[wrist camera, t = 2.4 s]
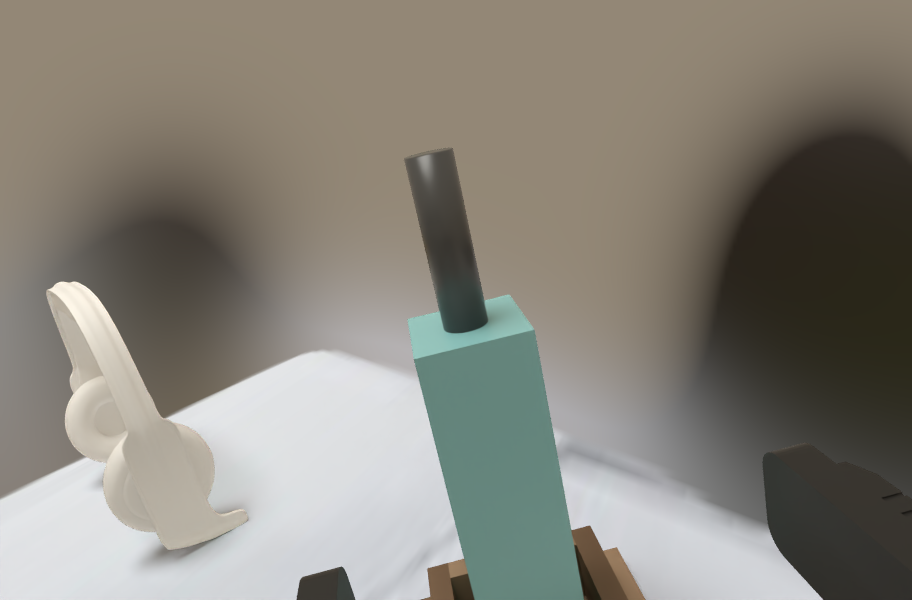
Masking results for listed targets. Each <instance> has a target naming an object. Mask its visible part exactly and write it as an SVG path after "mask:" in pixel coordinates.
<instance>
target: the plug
mask: <svg viewBox="0 0 912 600" xmlns="http://www.w3.org/2000/svg"><path fill="white" fill-rule="evenodd" d="M404 160H405V165H406V169H407V173H408V178H409V182H410V186H411V190H412V195H413V199H414V204H415V208H416V212H417V216H418V221H419V225H420V229H421V233H422V238H423V242H424V247H425V251H426V255H427V259H428V264H429V268H430V272H431V277H432V280H433V285H434V290H435V294H436V298H437V302H438V307H439V312H435V313H431V314H427V315H423V316H418V317H414V318H410V319H408V326H409V331H410V338H411V344H412V350H413V357H414V361H415V365H416V369H417V373H418V377H419V381H420V385H421V389H422V393H423V397H424V401H425V405H426V409H427V413H428V417H429V421H430V425H431V429H432V433H433V437H434V441H435V445H436V449H437V453H438V457H439V461H440V465H441V469H442V472H443V476H444V480H445V484H446V488H447V492H448V496H449V500H450V504H451V508H452V512H453V516H454V520H455V524H456V528H457V532H458V536H459V540H460V544H461V548H462V552H463V556H464V560H465V564H466V568H467V571H468V575H469V579H470V583H471V587H472V591H473V595H474V599H475V600H584V597H583V592H582V586H581V581H580V575H579V570H578V564H577V559H576V554H575V548H574V543H573V537H572V532H571V526H570V521H569V515H568V510H567V505H566V499H565V494H564V488H563V483H562V477H561V472H560V466H559V461H558V456H557V450H556V445H555V439H554V434H553V428H552V423H551V418H550V412H549V406H548V401H547V396H546V391H545V385H544V380H543V374H542V368H541V363H540V357H539V352H538V347H537V341H536V336H535V331H534V329H533V327H532V326H531V324H530V323H529V322H528V320H527V319H526V317H525V316H524V315H523V313H522V312H521V310H520V309H519V307H518V306H517V305H516V303H515V302H514V300H513V299H512V298H511V297H510V295H506V296H501V297H497V298H493V299H489V300H485V301H484V297H483V292H482V287H481V282H480V278H479V273H478V268H477V263H476V258H475V254H474V249H473V244H472V240H471V234H470V230H469V225H468V220H467V215H466V210H465V205H464V200H463V196H462V191H461V187H460V181H459V176H458V172H457V167H456V162H455V157H454V152H453V148H443V149H437V150H432V151H427V152H423V153H419V154H415V155H412V156H409V157H406V158H405V159H404Z"/></svg>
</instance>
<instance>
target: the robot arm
mask: <svg viewBox="0 0 912 600" xmlns="http://www.w3.org/2000/svg"><path fill="white" fill-rule="evenodd" d="M763 474H764V485H765V497H766V509H767V520H768V526H769V529H770V533H771V535H772V538H773V540H774V542H775V544H776V546H777V547H778V549H779V551H780V552H781V553H782V555H783V556H784V557H785V558H786V559H787V561H788V562H789V563H790V564H791V565H792V566H793V567H794V568H795V569H796V570H797V571H798V573H799V574H800V575H801V576H802V577H803V578H804V579H805V580H806V581H807V582H808V583H809V585H810V586H811V587H812V588H813V589H814V590H815V591H816V592H817V593H818V594H819V595H820V596H821V598H822V599H823V600H912V499H911V498H910V497H908V496H904V495H903V494H902V492H901V491H900V490H899V489H897V488H896V487H894V486H893V485H892V484H890V483H889V482H887V481H886V480H884V479H883V478H882V477H881V476H879V475H877V474H876V473H873V472H871V471H868V470H865V469H863V468H860V467H858V466H855V465H853V464H850V463H847V462H842V463H838V464H836V463H835V462H833V461H832V460H831V459H829V458H828V457H827V456H825V455H824V454H823V453H821V452H820V451H819V450H817V449H816V448H815V447H814V446H812V445H811V444H808V443H802V444H798V445H794V446H790V447H787V448H783V449H779V450H776V451H772V452H768V453H766V454H765V455H764V457H763ZM297 600H355V597H354V594H353V591H352V588H351V585H350V582H349V579H348V576H347V574H346V571H345V570H344V568H343V567H338V568H335V569H331V570H327V571H323V572H320V573H316V574H312V575H309V576H305V577H302V578H301V580H300V583H299V588H298V595H297Z"/></svg>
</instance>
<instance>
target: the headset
mask: <svg viewBox="0 0 912 600" xmlns="http://www.w3.org/2000/svg"><path fill="white" fill-rule="evenodd" d="M46 294H47V298H48V302H49V305H50V308H51V311H52V313H53V316H54V319H55V321H56V324H57V327H58V329H59V331H60V334H61V337H62V339H63V342H64V344H65V347H66V349H67V352H68V355H69V357H70V360H71V363H72V366H73V372H72V374H71V376H70V385H71V389H72V391H73V396H72V397H71V399H70V401H69V403H68V405H67V409H66V413H65V427H66V431H67V435H68V437H69V439H70V441H71V442H72V444H73V446H75V448H76V449H77V450H78V451H79V452H80V453H82V454H83V455H84V456H86V457H88V458H90V459H92V460H94V461H98V462H103V463H107V464H106V467H105V471H104V476H103V490H104V495H105V499H106V502H107V504H108V506H109V508H110V510H111V511H112V513H113V514H114V515H115V516H116V517H117V518H118V519H119V520H120V521H121V522H122V523H124V524H125V525H127V526H129V527H131V528H133V529H136V530H139V531H144V532H156V533H157V535H158V537H159V539H160V541H161V543H162V544H163V545H164V546H165V547H166V548H167V549H168V550H174V549H179V548H185V547H189V546H192V545H195V544H198V543H201V542H204V541H208V540H211V539H214V538H216V537H218V536H220V535H222V534H224V533H226V532H228V531H230V530H232V529H234V528H236V527H238V526H240V525H241V524H243V523H245V522H246V521H247V520H248V517H247V514H246V512H245V511H244V510H243V509H238V510H235V511H232V512H229V513H225V514H218V513H216V512H215V511H214V510H213V508H212V507H211V506H210V504H209V502H208V500H207V498H208V496H209V494H210V492H211V489H212V486H213V482H214V475H215V467H214V460H213V456H212V453H211V450H210V448H209V447H208V445H207V443H206V442H205V441H204V439H203V438H202V437H201V436H200V435H199V434H198V433H196V432H195V431H194V430H192V429H190V428H189V427H186V426H184V425H181V424H178V423H173V422H172V421H170V420H168V419H164V418H162V417H161V416H160V415H159V413H158V411H157V409H156V407H155V404H154V402H153V400H152V398H151V396H150V394H149V393H148V391H147V389H146V387H145V385H144V383H143V381H142V378H141V376H140V374H139V372H138V370H137V368H136V366H135V364H134V362H133V360H132V358H131V356H130V354H129V352H128V350H127V348H126V346H125V344H124V342H123V340H122V338H121V336H120V334H119V332H118V330H117V328H116V326H115V325H114V323H113V321H112V319H111V318H110V316H109V314H108V313H107V311H106V309H105V308H104V306H103V305H102V303H101V302H100V301H99V299H98V298H97V297H96V296H95V295H94V294H93V292H91V291H90V290H89V289H88V288H87V287H85V286H83V285H82V284H80V283H78V282H71V283H67V282H59V283H57V284H55V286H54V287H53V288H51V289H49V290H47V292H46Z"/></svg>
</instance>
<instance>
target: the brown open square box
mask: <svg viewBox="0 0 912 600" xmlns="http://www.w3.org/2000/svg"><path fill="white" fill-rule="evenodd" d="M571 532H572V537H573V543H574V548H575V554H576V559H577V564H578V570H579V575H580V581H581V586H582V592H583V597H584V600H645V598H644V596H643V594H642V593H641V591H640V589H639V587H638V585H637V584H636V582H635V580H634V578H633V576H632V574H631V573H630V571H629V569H628V567H627V565H626V564H625V562H624V560H623V558H622V556H621V554H620V553H619V551H618V549H617V547H616V548H612V549H609V550H605V551H603V550H602V548H601V546H600V544H599V542H598V540H597V538H596V536H595V534H594V532H593V530H592V528H591V526H586V527H583V528H579V529H575V530H571ZM427 570H428V579H429V587H430V596H431V597H429V598H425V599H421V600H475V599H474V595H473V591H472V587H471V583H470V579H469V575H468V571H467V568H466V564H465V560H464V559H462V560H458V561H454V562H450V563H447V564H443V565H439V566H435V567H431V568H428V569H427Z"/></svg>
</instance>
